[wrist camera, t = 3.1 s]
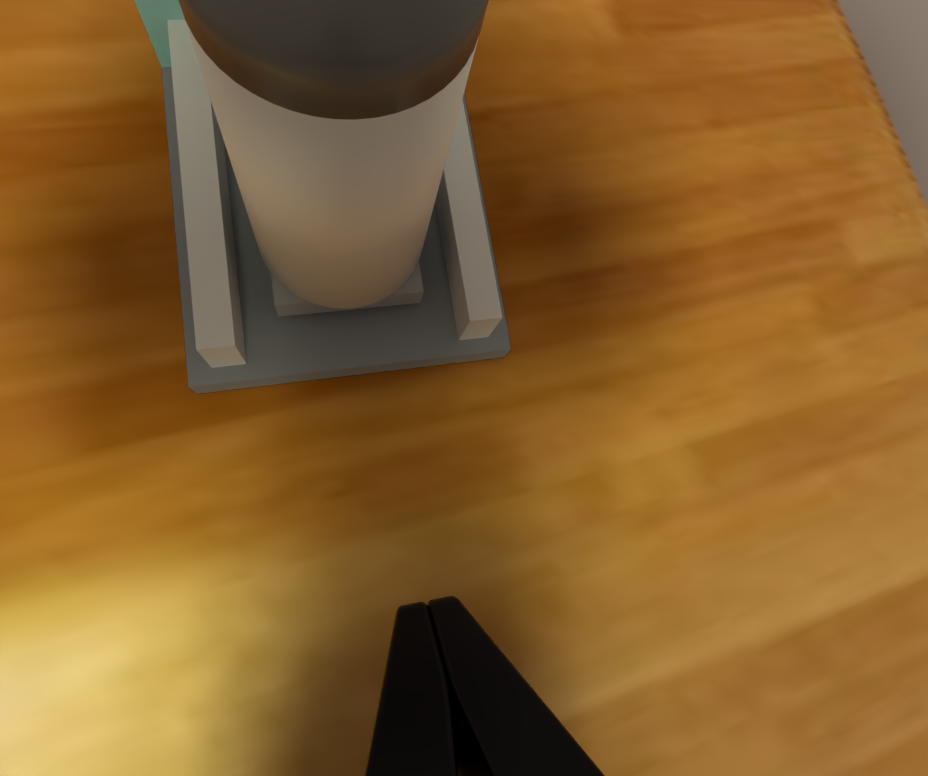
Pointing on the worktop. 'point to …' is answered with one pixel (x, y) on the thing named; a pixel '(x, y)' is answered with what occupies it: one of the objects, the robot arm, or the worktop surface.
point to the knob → (337, 134)
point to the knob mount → (249, 280)
